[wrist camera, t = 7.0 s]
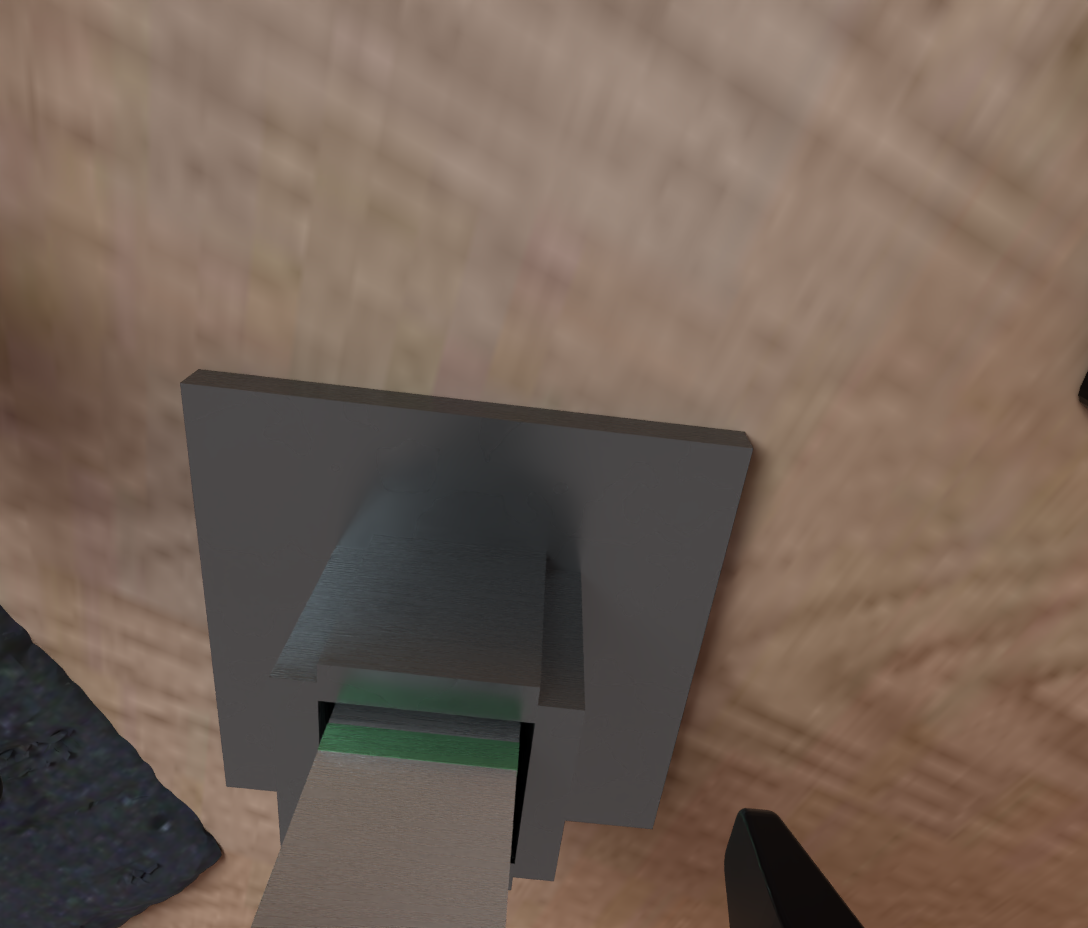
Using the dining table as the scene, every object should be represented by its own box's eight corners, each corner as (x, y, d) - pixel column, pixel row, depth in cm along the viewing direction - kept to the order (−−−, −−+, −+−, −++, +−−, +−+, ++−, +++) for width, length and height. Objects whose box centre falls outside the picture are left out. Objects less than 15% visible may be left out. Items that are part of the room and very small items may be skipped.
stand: (744, 431, 19) (814, 563, 14) (649, 803, 25) (671, 993, 20) (198, 369, 19) (50, 478, 13) (238, 761, 25) (148, 944, 20)
